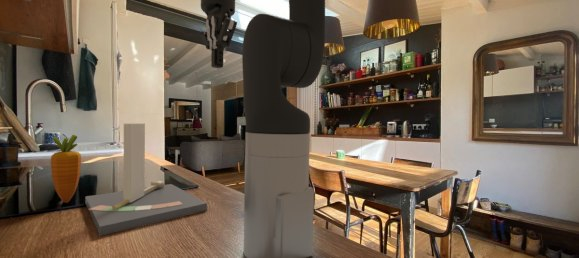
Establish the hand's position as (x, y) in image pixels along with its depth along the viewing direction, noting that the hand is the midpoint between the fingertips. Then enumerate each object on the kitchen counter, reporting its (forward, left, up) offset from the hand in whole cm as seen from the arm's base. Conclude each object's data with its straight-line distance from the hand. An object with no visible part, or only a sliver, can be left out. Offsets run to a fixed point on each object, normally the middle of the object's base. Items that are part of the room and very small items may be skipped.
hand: (217, 67), depth 57 cm
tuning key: (+9, +13, -29) cm, 33 cm away
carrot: (+20, +25, -31) cm, 45 cm away
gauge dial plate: (+6, +13, -31) cm, 34 cm away
